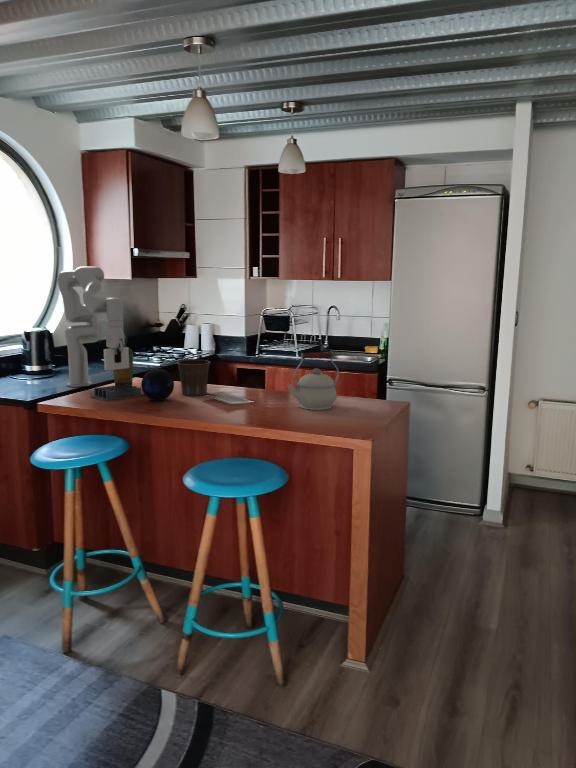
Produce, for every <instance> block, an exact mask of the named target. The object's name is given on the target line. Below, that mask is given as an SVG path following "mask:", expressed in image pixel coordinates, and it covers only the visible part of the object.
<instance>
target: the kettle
mask: <svg viewBox="0 0 576 768" xmlns="http://www.w3.org/2000/svg"><path fill="white" fill-rule="evenodd" d="M325 358H329V359H330V362H331V363H332V365H333V366H334V367H335V369H336V371H337V372H336V376H335V379H333V378H332V377H331V376H329V375H327V374H325V373H321V372H322V371H321V370H320V368H318V367H316V368H314V369H313V370H312V373H306V374H304V375H303V376H302V377H300V379H299V380H298V381H297V380H296V373H297V372H298V369H300V366H302V364H303V362H304V360H305V359H310V360H311V359H325ZM292 376H293V381H294V383H295V387H293V385H292V384H286V386H287V388H288V390H289V392H290V393H291V394H292V396H293V397H294V398H295V399H296V401H298V403H299V404H300V408H302V409H303V408H304V410H307V409H310V410H309V411H326V410H330V409H331V408H332V407H333V404H334V403H335V401H336V399H337V396H338V395H337V389H336V388H337V386H338V384H337V382H338V380H339V376H340V370H339V368H338V366H337V365H336V364H335V362H334V361H333V352H331V351H329V352H321V351H320V352H309V353H305V352H301V353H300V362H299V364H298V365H297V367H296V368H295V369H294V371H293V375H292Z"/></svg>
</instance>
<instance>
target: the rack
mask: <svg viewBox="0 0 576 768" xmlns="http://www.w3.org/2000/svg"><path fill="white" fill-rule="evenodd" d="M93 390H94V393H93V394H92V393H91V394H89V396H90V398H94V399H96V400H99V399H100V401H102V400H103V402H107V400H108V401H113V399H115V400H119V399H120V398H122V399H127V397H129V398H134V396H136V397H142V395H143V396H146V395H145V394H144V393H143V391H142V387H141V386H139V387H138V386H136V385H134V386H133V384H132V385H128V384H123V385H115V384H114V385H109V386H102V387H94V389H93ZM120 400H121V399H120Z"/></svg>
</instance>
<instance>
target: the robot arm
mask: <svg viewBox="0 0 576 768" xmlns="http://www.w3.org/2000/svg"><path fill="white" fill-rule="evenodd" d="M104 280H105V272H104V270H103V269H102V267H100V266H92V265H91V266H86V265H85V266H79V267H76V269H73V270H71V269H69V270H63V271H61V272H59V274H58V276H57V286H58V288H59V291H60V294H61V296H62V302H63V303H62V304H63V309H64V315H65V319H66V321H67V322H68V323H69V324H75V325H70V326H68V327H66V329H65V331H64V337H65V340H66V345H67V346H66V347H67V356H68V357H67V361H68V374H69V375H68V376H69V377H68V380H69V382H67V383H66V386H67V387H70V388H77V387H78V388H79V387H80V388H81V387H82V388H83V387H89V386H91V385H92V383H93V382H92V381H91V380H90V381H89V365H88V351H87V349H86V347H85V346H84V345H83V344H88V343H89V344H91V343H96V342H98V341H99V339H100V329H99V328H100V327H99V321H98V315H97V314H101V313H103V314H104V313H105V315H106V334H105V340H106V341H105V342H106V345H105V346H106V347H107V348H108V349H112V348H115V355H114V356H115V363H120V362H121V354H122V351H123V350H124V349H123V347H124V334H125V332H124V314H123V313H124V312H123V311H124V309H123V299H122V298H119V297H112V296H97V297H95V296H96V295H98V294H99V293H100V292H101V290H102V283H103V282H104ZM75 288H82V289H83V293H82V300H83V303H84V304H82V303H81V297H80V294H79V293H78V291H77V289H75ZM83 323H85V324H83ZM76 324H79V325H76ZM117 347H119V348H117ZM117 349H118V350H117Z"/></svg>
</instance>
